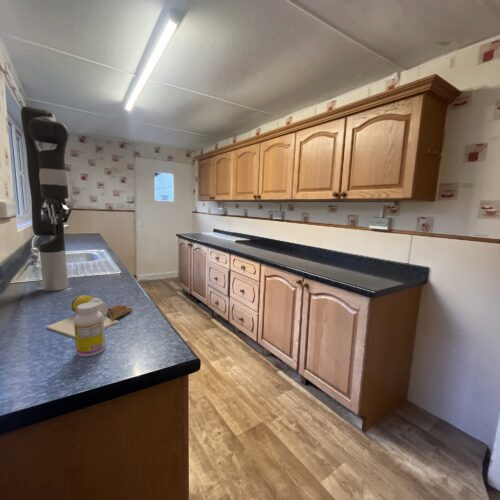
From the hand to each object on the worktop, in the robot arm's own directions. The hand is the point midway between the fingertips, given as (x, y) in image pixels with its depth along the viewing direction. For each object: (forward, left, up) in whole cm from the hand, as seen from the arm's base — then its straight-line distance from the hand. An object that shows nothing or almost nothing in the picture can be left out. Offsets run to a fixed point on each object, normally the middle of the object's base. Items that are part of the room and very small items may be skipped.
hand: (58, 235), depth 94 cm
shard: (+21, +6, -28) cm, 35 cm away
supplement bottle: (+34, -14, -28) cm, 46 cm away
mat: (+17, -5, -28) cm, 33 cm away
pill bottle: (+8, 0, -24) cm, 25 cm away
